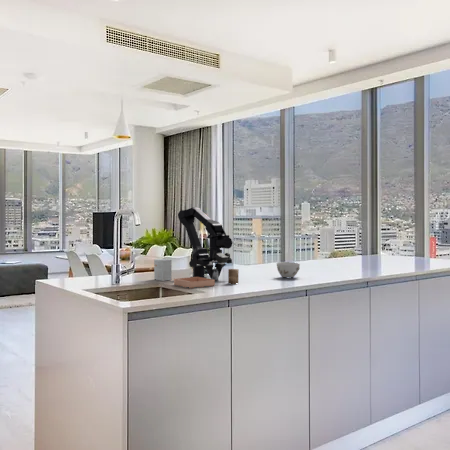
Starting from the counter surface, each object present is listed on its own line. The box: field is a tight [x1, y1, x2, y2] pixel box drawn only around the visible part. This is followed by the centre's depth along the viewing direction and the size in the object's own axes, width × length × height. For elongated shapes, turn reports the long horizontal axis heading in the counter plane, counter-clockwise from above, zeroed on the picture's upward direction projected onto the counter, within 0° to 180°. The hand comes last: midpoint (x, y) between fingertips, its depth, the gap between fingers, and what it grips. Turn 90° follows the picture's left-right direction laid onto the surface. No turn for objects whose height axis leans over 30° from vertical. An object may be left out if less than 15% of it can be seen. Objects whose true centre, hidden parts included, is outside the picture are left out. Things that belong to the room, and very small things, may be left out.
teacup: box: [276, 261, 301, 278], centre depth 282 cm, size 15×12×8 cm
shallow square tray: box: [173, 276, 216, 289], centre depth 249 cm, size 14×14×3 cm
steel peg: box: [210, 268, 219, 282], centre depth 266 cm, size 4×4×6 cm
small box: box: [153, 258, 173, 282], centre depth 268 cm, size 8×6×10 cm
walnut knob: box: [227, 268, 239, 285], centre depth 257 cm, size 5×5×7 cm
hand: (214, 277), depth 266 cm, fingers closed on steel peg, 4 cm apart
